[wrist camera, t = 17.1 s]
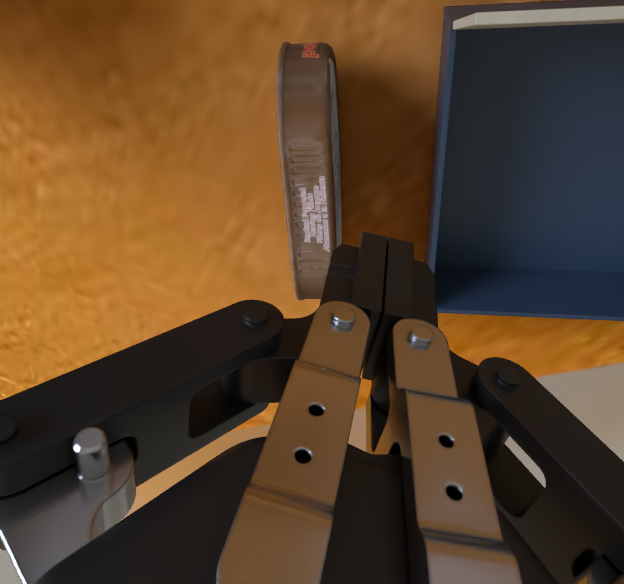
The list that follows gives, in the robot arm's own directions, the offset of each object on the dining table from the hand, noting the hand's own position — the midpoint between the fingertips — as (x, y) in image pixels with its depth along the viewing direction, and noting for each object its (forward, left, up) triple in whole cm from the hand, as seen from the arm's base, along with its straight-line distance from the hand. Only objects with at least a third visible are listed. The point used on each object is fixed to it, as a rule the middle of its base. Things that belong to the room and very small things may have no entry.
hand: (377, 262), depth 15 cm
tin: (-4, -4, -19) cm, 20 cm away
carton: (+11, -4, -19) cm, 22 cm away
